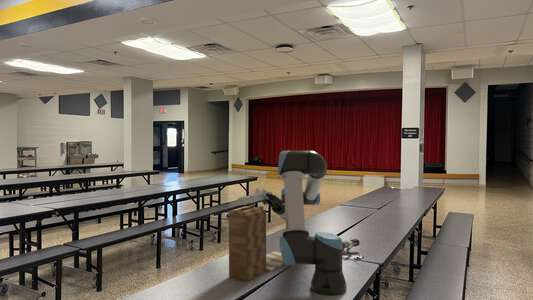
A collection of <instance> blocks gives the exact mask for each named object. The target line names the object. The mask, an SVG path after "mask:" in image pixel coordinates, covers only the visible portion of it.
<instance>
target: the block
mask: <svg viewBox="0 0 533 300" xmlns="http://www.w3.org/2000/svg"><path fill="white" fill-rule="evenodd" d="M267 192H268V193H269V194H271V193H272V192H271V191H267ZM265 199H266V198H265V197H264V196H263V195H261V193H258V194H255V193H254V194H249V195H244V196H240V197H237V205H239V206H245V205H249V204H252V203H256V202H261V200H265Z"/></svg>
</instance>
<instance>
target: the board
mask: <svg viewBox="0 0 533 300" xmlns="http://www.w3.org/2000/svg"><path fill="white" fill-rule="evenodd" d="M283 265H286V264H285V263H284V262H283V260H282V256H281V251H278V250H274V251H271V252H269V253H266V272H272V271H274V270H276V269H278V268H280V267H281V266H283Z"/></svg>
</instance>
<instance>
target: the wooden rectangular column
mask: <svg viewBox="0 0 533 300" xmlns="http://www.w3.org/2000/svg"><path fill="white" fill-rule="evenodd" d="M266 255H267V209H264V206H262V205H261V206H257V207H255V205H254V204H250V205H248V206H243V207H239V208H236V209H232V210H231V211H230V212H229V213H228V278H230V279H234V280H238V281H241V282H245V283H247V282H249V281H251V280H253V279H255V278H257V277H258V276H260V275H261V274H264V273H265V272H267V270H266Z"/></svg>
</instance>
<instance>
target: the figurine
mask: <svg viewBox="0 0 533 300" xmlns="http://www.w3.org/2000/svg"><path fill="white" fill-rule="evenodd" d="M359 245H360V240H359V239H358V238H354V239H350V240H349V241H348V240H346V239H345V240H342V246H343V250H342V252H344V255H345V256H346V255H347V253H349V252H350V250H351V249H352V248H353V247H358V246H359Z"/></svg>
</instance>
